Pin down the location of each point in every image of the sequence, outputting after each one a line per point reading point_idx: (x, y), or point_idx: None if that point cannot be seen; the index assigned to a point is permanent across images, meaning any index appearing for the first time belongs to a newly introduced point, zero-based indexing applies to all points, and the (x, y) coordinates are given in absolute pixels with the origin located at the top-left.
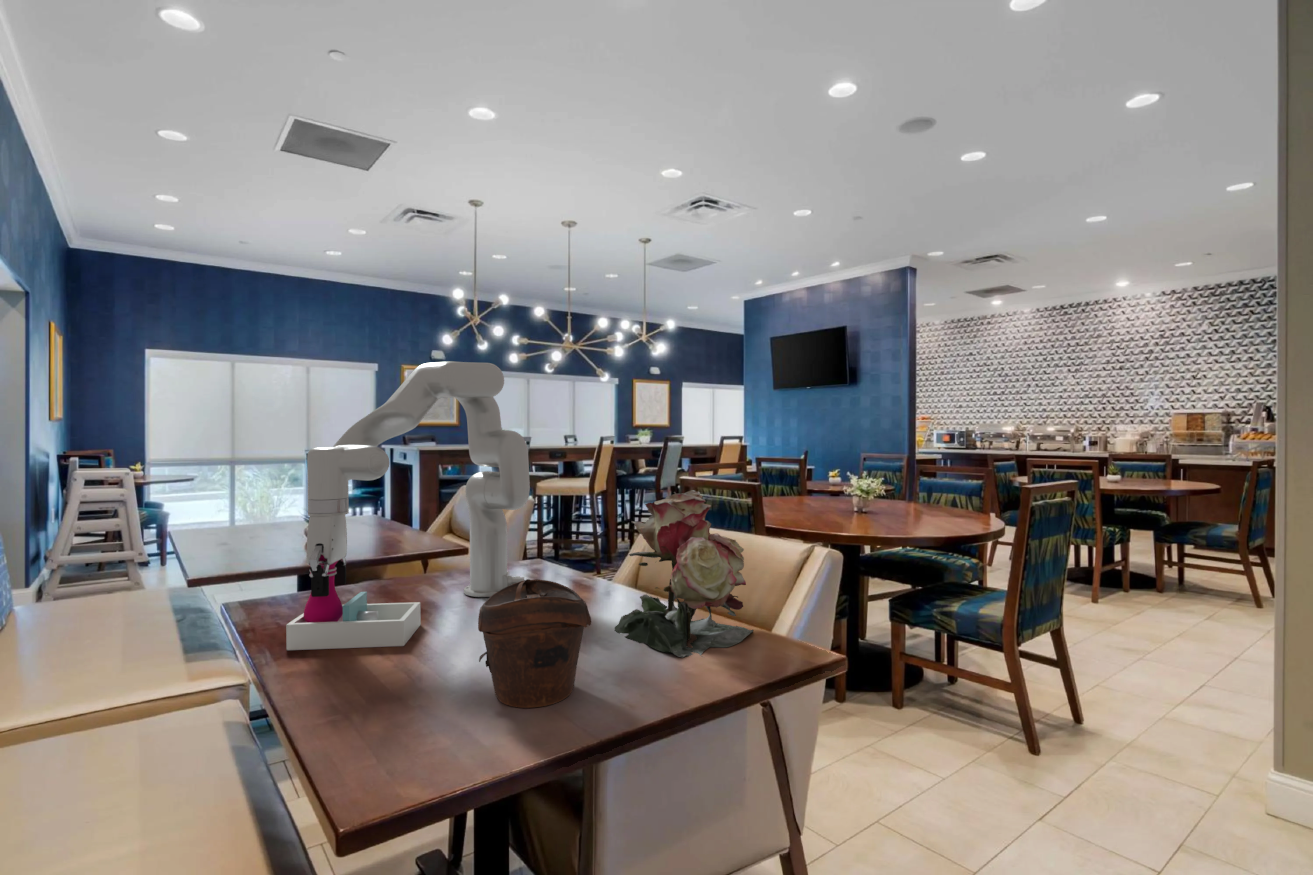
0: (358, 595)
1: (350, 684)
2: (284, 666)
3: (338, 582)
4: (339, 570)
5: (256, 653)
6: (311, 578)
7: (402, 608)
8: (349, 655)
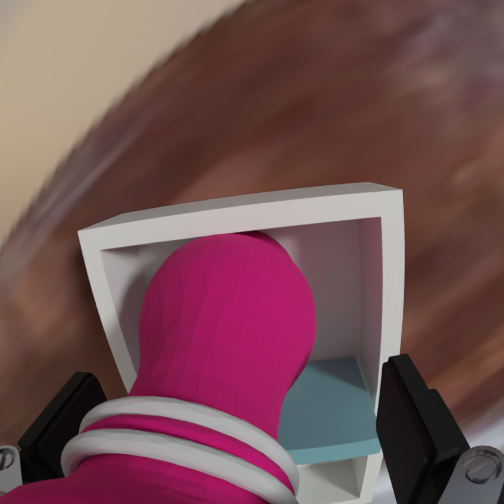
0: (311, 454)
1: (23, 414)
2: (32, 278)
3: (382, 409)
4: (399, 478)
5: (95, 136)
6: (25, 436)
7: (361, 471)
8: (119, 392)
